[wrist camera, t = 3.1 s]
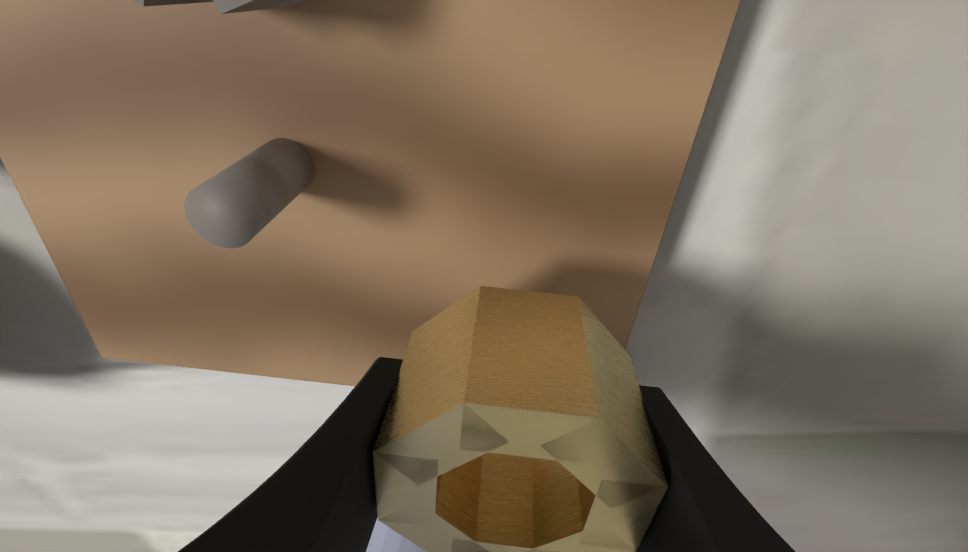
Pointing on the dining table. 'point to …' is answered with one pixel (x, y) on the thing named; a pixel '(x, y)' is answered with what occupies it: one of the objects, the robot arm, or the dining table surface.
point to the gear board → (345, 163)
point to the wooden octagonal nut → (517, 432)
